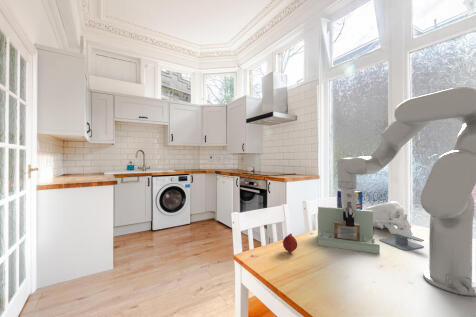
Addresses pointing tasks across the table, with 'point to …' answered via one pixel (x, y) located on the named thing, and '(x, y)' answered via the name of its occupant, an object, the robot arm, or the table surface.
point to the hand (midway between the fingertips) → (348, 223)
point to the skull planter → (390, 217)
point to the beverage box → (357, 195)
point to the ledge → (336, 214)
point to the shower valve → (403, 241)
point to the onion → (290, 243)
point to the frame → (346, 231)
